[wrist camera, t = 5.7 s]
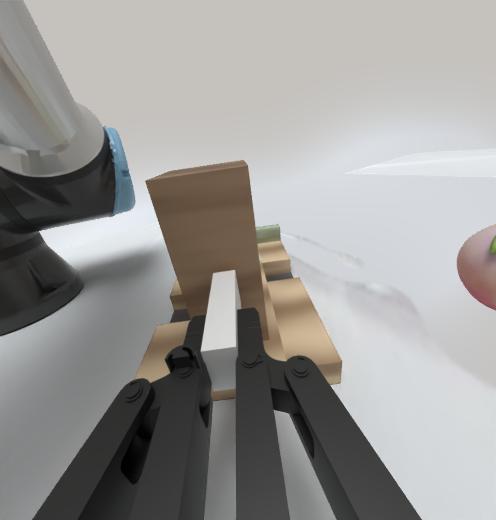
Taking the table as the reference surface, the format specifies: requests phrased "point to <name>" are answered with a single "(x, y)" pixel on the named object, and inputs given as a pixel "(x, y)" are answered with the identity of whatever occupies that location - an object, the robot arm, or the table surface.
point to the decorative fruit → (479, 266)
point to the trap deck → (277, 312)
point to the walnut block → (210, 232)
